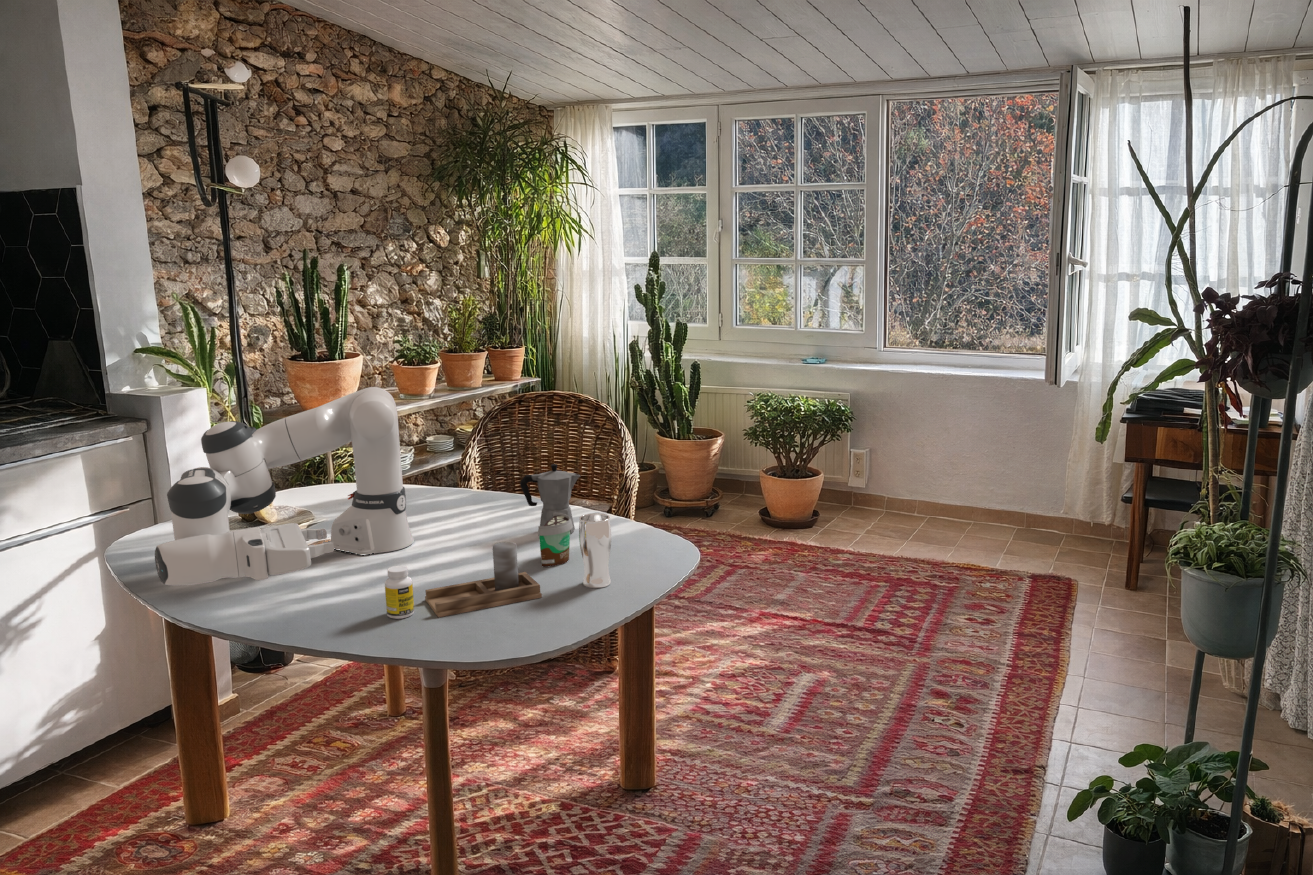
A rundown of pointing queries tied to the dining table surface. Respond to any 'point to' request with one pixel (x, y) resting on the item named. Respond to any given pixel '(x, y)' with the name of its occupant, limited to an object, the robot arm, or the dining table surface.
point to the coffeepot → (552, 492)
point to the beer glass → (595, 549)
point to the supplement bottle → (399, 593)
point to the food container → (555, 540)
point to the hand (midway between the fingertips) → (329, 539)
